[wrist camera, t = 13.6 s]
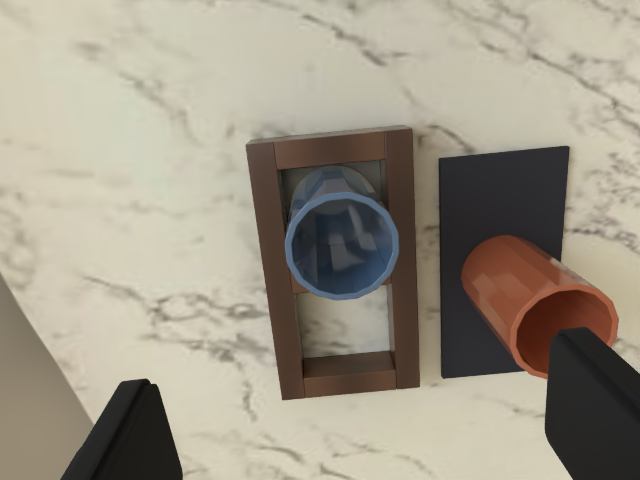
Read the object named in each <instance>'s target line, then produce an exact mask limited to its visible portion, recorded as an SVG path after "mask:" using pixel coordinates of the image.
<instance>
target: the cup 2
mask: <svg viewBox="0 0 640 480" xmlns="http://www.w3.org/2000/svg"><path fill="white" fill-rule="evenodd" d="M461 281H462V286H463V289H464V292H465V293H466V295H467V296H468V298H469V300H470V302H471V303H472V304H473V306H474V307H475V308H476V310H477V311H478V312H479V314H480V315H481V316H482V318H483V319H484V320H485V322H486V323H487V324H488V326H489V327H490V328H491V330H492V331H493V332H494V334H495V335H496V336H497V338H498V339H499V340H500V341H501V343H502V344H503V345H504V347H505V348H506V349H507V351H508V352H509V353H510V355H511V356H512V357H513V359H514V360H515V361H516V363H517V364H518V365H519V366H521V367H522V368H523V369H524V370H526V371H527V372H528V373H529V374H531V375H533V376H537V377H541V378H544V379H548V365H549V348H550V339H551V338H552V337H553V336H556V335H557V332H558V331H559V330H560V329H567V328H576V327H587V328H589V329H590V330H591V331H592V332H593V333H595V334H596V335H597V336H598V337H599V338H600V339H601V340H602V341H603V342H605V343H606V344H607V345H608V346H609V347H610V348H611V347H612V345H613V343H614V341H615V340H616V337H617V329H618V321H619V318H618V316H617V313H616V310H615V307H614V304H613V302H612V301H611V300H610V299H609V298H608V297H607V296H606V295H605V294H603V293H602V292H601V291H600V290H599V289H598V288H596V287H595V286H593V285H592V284H590V283H589V282H588V281H586V280H585V279H583V278H582V277H580V276H579V275H577V274H576V273H575V272H573V271H572V270H570V269H569V268H567V267H566V266H565V265H563V264H562V263H560V262H559V261H557V260H556V259H554V258H553V257H552V256H550V255H549V254H547V253H546V252H544V251H543V250H542V249H540V248H539V247H537V246H536V245H534V244H533V243H532V242H530V241H528V240H526V239H524V238H521V237H519V236H514V235H500V236H495V237H492V238H490V239H487V240H485V241H483V242H482V243H480V244H479V245H478V246H476V247H475V248H474V249H473V250H472V251H471V253H470V254H469V255H468V257H467V258H466V260H465V262H464V265H463V268H462V274H461Z"/></svg>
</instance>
